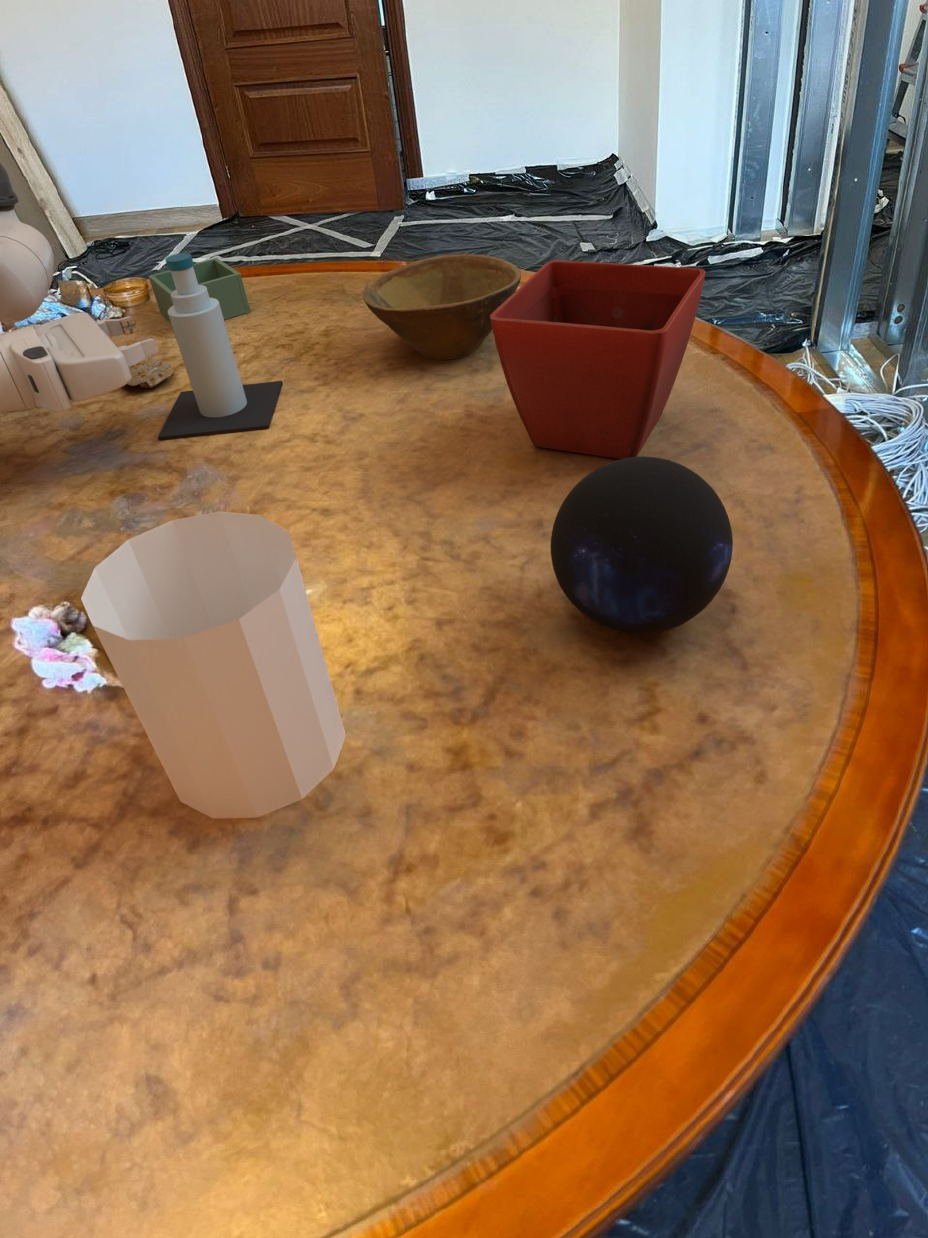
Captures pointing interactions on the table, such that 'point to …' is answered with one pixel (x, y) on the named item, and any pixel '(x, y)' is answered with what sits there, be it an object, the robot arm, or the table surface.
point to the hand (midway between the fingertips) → (145, 333)
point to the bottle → (204, 342)
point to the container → (220, 660)
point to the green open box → (215, 278)
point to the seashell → (149, 372)
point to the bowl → (443, 301)
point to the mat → (252, 417)
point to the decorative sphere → (641, 545)
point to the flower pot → (595, 351)
